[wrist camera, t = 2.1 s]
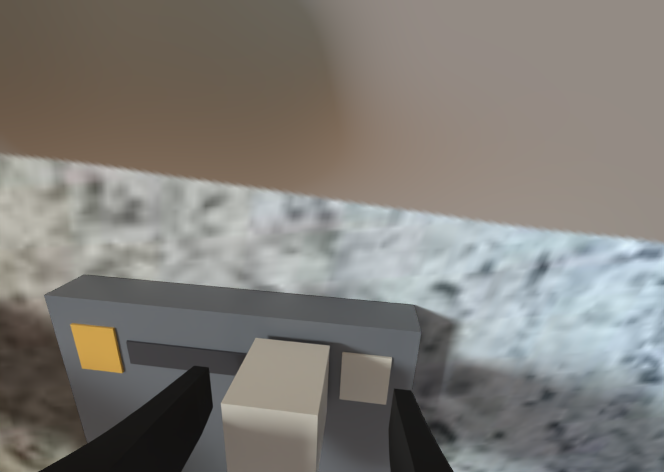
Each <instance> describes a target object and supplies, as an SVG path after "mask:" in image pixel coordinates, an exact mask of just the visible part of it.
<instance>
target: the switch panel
mask: <svg viewBox="0 0 664 472" xmlns="http://www.w3.org/2000/svg"><path fill="white" fill-rule="evenodd" d="M44 296H45V300H46V303H47V307H48V310H49V314H50V317H51V320H52V324H53V327H54V331H55V334H56V338H57V341H58V344H59V348H60V351H61V355H62V358H63V362H64V365H65V368H66V372H67V375H68V379H69V382H70V386H71V389H72V392H73V396H74V399H75V403H76V406H77V410H78V413H79V416H80V420H81V423H82V427H83V430H84V434H85V437H86V440H87V443H89V442H91V441H92V440H94V439H95V438H97V437H99V436H100V435H102V434H103V433H105V432H106V431H108V430H109V429H111V428H112V427H114V426H115V425H116V424H118V423H119V422H121V421H122V420H123V419H125V418H126V417H128V416H129V415H130V414H132V413H133V412H135V411H136V410H137V409H139V408H140V407H142V406H143V405H144V404H146V403H147V402H148V401H149V400H151V399H152V398H153V397H155V396H156V395H157V394H159V393H160V392H161V391H162V390H164V389H165V388H166V387H167V386H169V385H170V384H171V383H173V382H174V381H175V380H176V379H178V378H179V377H180V376H181V375H183V374H184V373H185V372H186V371H188V370H189V369H190V368H192V367H193V366H202V367H209V373H210V382H211V392H212V401H213V409H212V411H211V414H210V416H209V419H208V421H207V424H206V426H205V428H204V430H203V433H202V435H201V437H200V439H199V441H198V443H197V444H196V446H195V448H194V450H193V452H192V453H191V455H190V457H189V459H188V461H187V462H186V464H185V466H184V468H183V470H182V471H181V472H227V463H226V452H225V442H224V432H223V421H222V411H221V402H222V400H223V398H224V396H225V395H226V393H227V391H228V389H229V387H230V385H231V383H232V381H233V380H234V378H235V376H236V374H237V372H238V370H239V368H240V366H241V364H242V363H243V361H244V359H245V357H246V355H247V353H248V351H249V349H250V348H251V346H252V344H253V342H254V340H255V338H262V339H272V340H281V341H291V342H300V343H310V344H319V345H329V346H330V353H329V374H328V394H327V414H326V421H325V428H324V435H323V442H322V449H321V456H320V463H319V470H318V472H391V469H390V461H389V433H388V428H389V421H390V414H391V406H392V399H393V392H394V388H395V389H404V390H411V391H412V387H413V381H414V375H415V369H416V362H417V356H418V350H419V344H420V337H421V329H420V325H419V322H418V318H417V314H416V310H415V307H414V305H408V304H397V303H386V302H375V301H364V300H353V299H342V298H332V297H321V296H310V295H299V294H288V293H277V292H266V291H255V290H244V289H233V288H222V287H212V286H201V285H190V284H179V283H168V282H157V281H146V280H135V279H124V278H113V277H103V276H92V275H82V276H80V277H78V278H76V279H74V280H72V281H70V282H68V283H66V284H65V285H63V286H61V287H59V288H57V289H55V290H53V291H51V292H49V293H47V294H45V295H44Z"/></svg>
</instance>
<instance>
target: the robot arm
mask: <svg viewBox="0 0 664 472" xmlns="http://www.w3.org/2000/svg"><path fill="white" fill-rule="evenodd" d="M212 409H213V401H212V392H211V382H210V373H209V367H202V366H193V367H192V368H190V369H189V370H188V371H186V372H185V373H184V374H183V375H181V376H180V377H179V378H178V379H176V380H175V381H174V382H173V383H171V384H170V385H169V386H167V387H166V388H165V389H164V390H162V391H161V392H160V393H159V394H157V395H156V396H155V397H153V398H152V399H151V400H149V401H148V402H147V403H146V404H144V405H143V406H142V407H140V408H139V409H137V410H136V411H135V412H133V413H132V414H130V415H129V416H128V417H126V418H125V419H123V420H122V421H121V422H119V423H118V424H116V425H115V426H114V427H112V428H111V429H109V430H108V431H106V432H105V433H103V434H102V435H100V436H99V437H97V438H95V439H94V440H92V441H91V442H89V443H87V444H86V445H84V446H83V447H81V448H79V449H78V450H76V451H74V452H73V453H71V454H69V455H67V456H66V457H64V458H62V459H60V460H59V461H57V462H55V463H53V464H51V465H50V466H48V467H46V468H44V469H43V470H41V471H39V472H181V471H182V470H183V468H184V466H185V464H186V462H187V461H188V459H189V457H190V455H191V453H192V452H193V450H194V448H195V446H196V444H197V443H198V441H199V439H200V437H201V435H202V433H203V430H204V428H205V426H206V424H207V421H208V419H209V416H210V414H211V411H212ZM388 433H389V461H390V469H391V472H454V471H453V470H452V468H451V466H450V465H449V463H448V462H447V460H446V458H445V456H444V455H443V453H442V451H441V449H440V448H439V446H438V444H437V442H436V440H435V438H434V437H433V435H432V433H431V431H430V429H429V427H428V425H427V423H426V421H425V419H424V417H423V415H422V413H421V411H420V408H419V406H418V404H417V402H416V399H415V397H414V394H413V393H412V391H411V390H404V389H395V388H394V392H393V399H392V406H391V414H390V421H389V428H388Z"/></svg>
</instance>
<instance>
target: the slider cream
mask: <svg viewBox="0 0 664 472" xmlns="http://www.w3.org/2000/svg"><path fill="white" fill-rule="evenodd" d="M329 353H330V346H329V345H319V344H310V343H300V342H291V341H281V340H272V339H262V338H255V340H254V342H253V344H252V346H251V348H250V349H249V351H248V353H247V355H246V357H245V359H244V361H243V363H242V364H241V366H240V368H239V370H238V372H237V374H236V376H235V378H234V380H233V381H232V383H231V385H230V387H229V389H228V391H227V393H226V395H225V396H224V398H223V400H222V402H221V411H222V421H223V432H224V442H225V452H226V463H227V472H318V470H319V463H320V456H321V449H322V442H323V435H324V428H325V421H326V414H327V394H328V374H329Z"/></svg>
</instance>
